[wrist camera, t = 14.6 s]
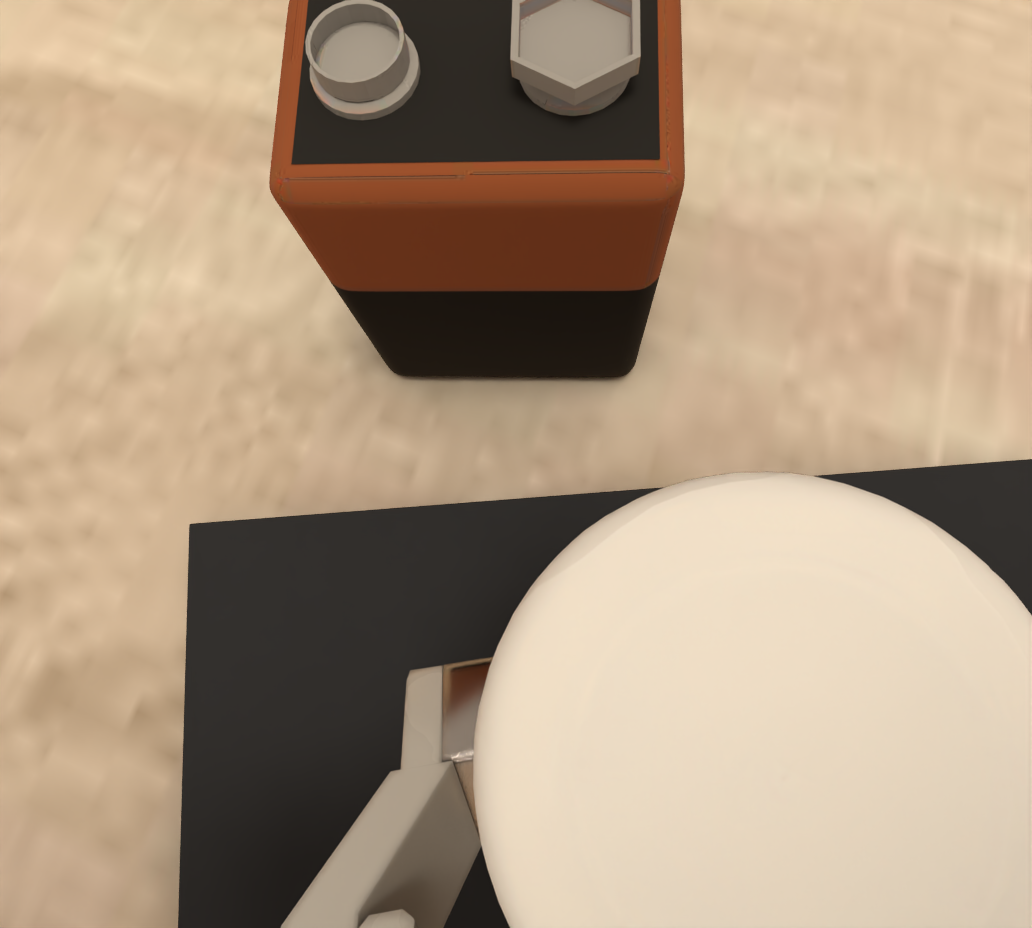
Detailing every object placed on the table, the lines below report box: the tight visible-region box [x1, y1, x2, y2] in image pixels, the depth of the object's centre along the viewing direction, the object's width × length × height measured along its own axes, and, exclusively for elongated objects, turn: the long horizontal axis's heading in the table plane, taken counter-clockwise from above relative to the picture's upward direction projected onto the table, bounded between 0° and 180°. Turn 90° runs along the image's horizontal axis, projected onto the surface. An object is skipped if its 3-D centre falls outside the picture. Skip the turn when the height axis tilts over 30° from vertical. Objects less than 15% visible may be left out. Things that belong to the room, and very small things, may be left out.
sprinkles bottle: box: [473, 472, 1032, 928], centre depth 12 cm, size 5×5×14 cm
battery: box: [270, 0, 685, 377], centre depth 16 cm, size 4×7×10 cm, turn 88°
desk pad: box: [178, 459, 1032, 928], centre depth 18 cm, size 22×15×1 cm
